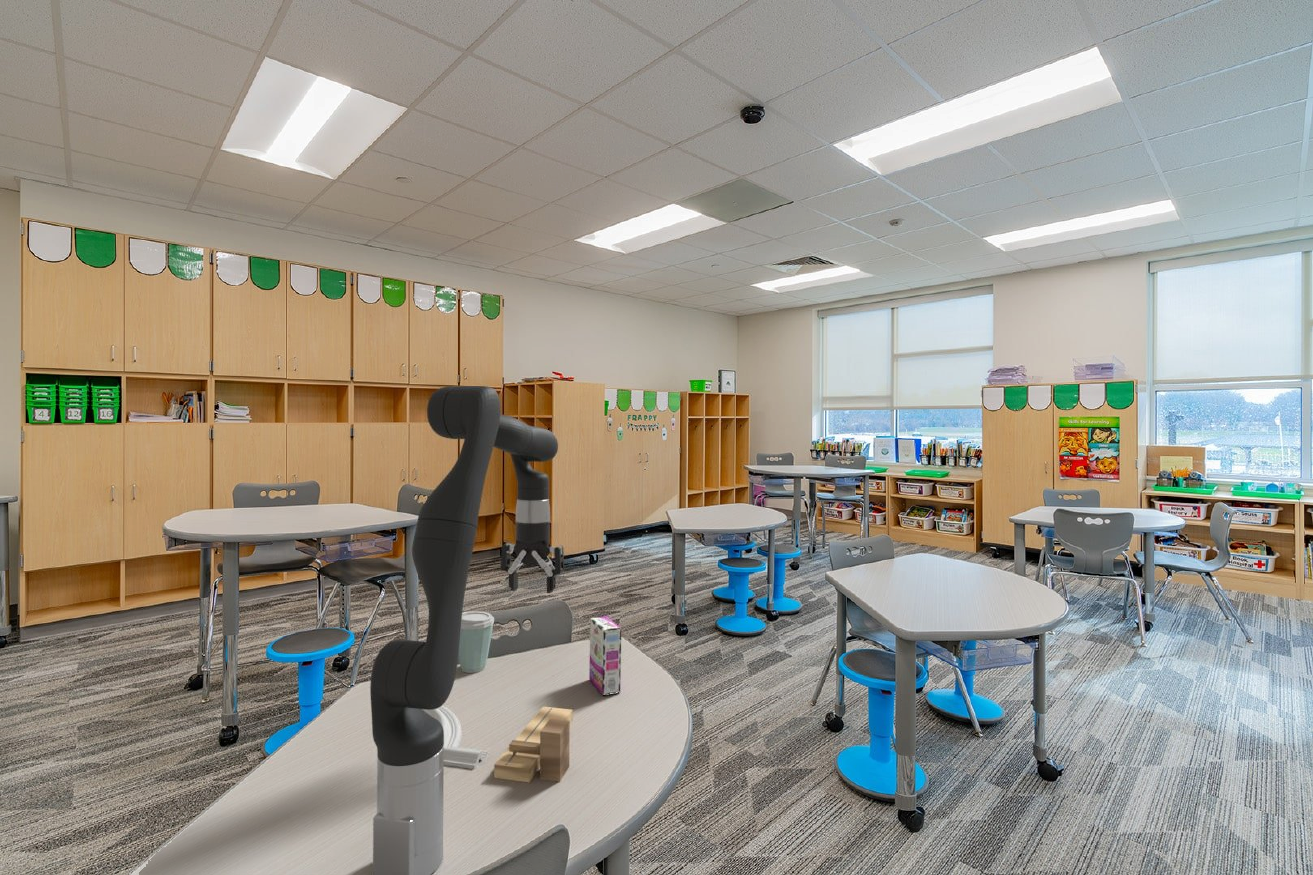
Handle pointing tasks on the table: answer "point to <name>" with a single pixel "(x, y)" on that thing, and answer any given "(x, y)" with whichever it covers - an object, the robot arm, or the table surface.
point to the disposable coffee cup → (475, 640)
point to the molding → (455, 741)
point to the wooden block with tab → (549, 749)
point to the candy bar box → (605, 655)
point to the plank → (522, 763)
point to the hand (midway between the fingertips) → (532, 591)
